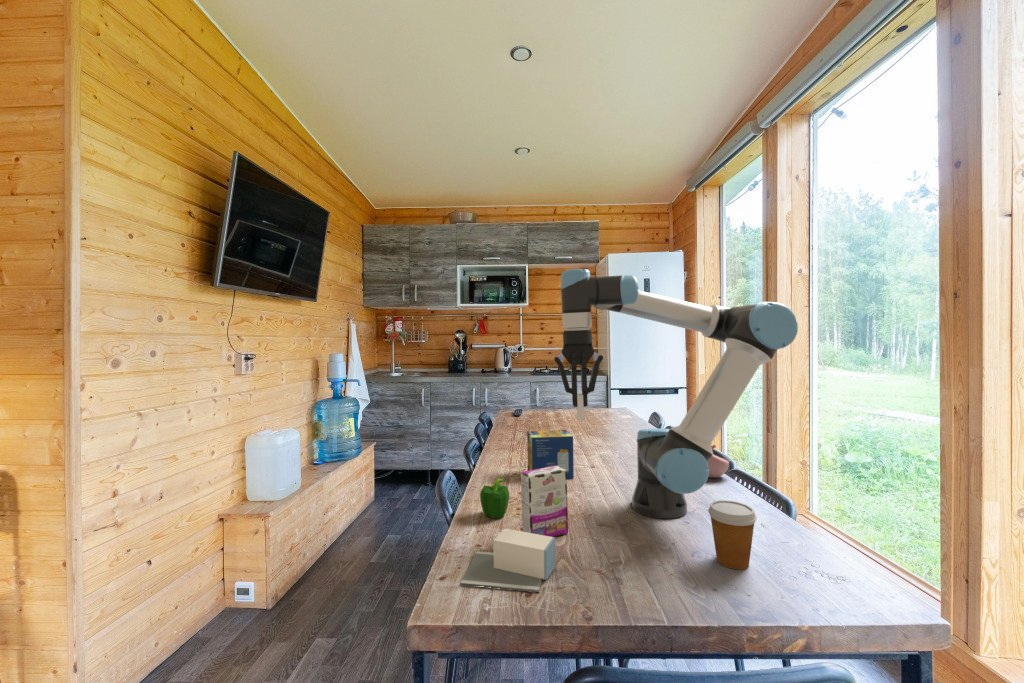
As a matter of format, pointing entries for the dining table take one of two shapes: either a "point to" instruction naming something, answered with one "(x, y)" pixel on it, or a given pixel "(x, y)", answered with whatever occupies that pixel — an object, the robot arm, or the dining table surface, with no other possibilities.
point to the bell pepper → (494, 500)
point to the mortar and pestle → (717, 465)
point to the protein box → (550, 450)
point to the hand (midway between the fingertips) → (580, 418)
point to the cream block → (525, 553)
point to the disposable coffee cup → (732, 532)
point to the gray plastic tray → (497, 576)
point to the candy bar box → (544, 501)
